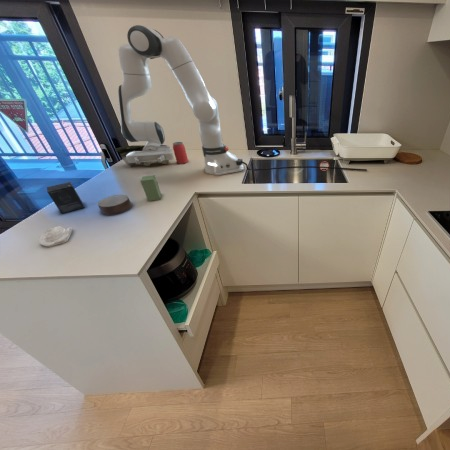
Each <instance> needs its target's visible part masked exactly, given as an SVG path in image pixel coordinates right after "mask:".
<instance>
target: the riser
mask: <svg viewBox="0 0 450 450" xmlns="http://www.w3.org/2000/svg"><path fill="white" fill-rule="evenodd" d="M97 206H98V208H99V210H100V212H101V213H102V215H105V216H115V215H119V214H122V213H126V212H128V211H129V210H130V209H131V208H132V207H133V204H132V201H131V200H130V198H129V196H128V195H127V194H113V195H110V196H107V197H104V198H102V199H101V200H99V201H98V202H97Z"/></svg>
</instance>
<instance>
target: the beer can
mask: <svg viewBox="0 0 450 450" xmlns="http://www.w3.org/2000/svg"><path fill="white" fill-rule="evenodd" d="M172 151H173V152H174V156H175V160H176V163H177V164H181V165H183V164H187V163H188V162H189V158H188V155H187V151H186V147H185V144H184V143H183V142H182V141H176V142H173V143H172Z"/></svg>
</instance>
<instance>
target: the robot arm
mask: <svg viewBox="0 0 450 450" xmlns="http://www.w3.org/2000/svg"><path fill="white" fill-rule="evenodd" d="M126 36H127V41H128V43H123V44H122V45H120V46H119V48H118V57H119V65H120V69H121V74H122V83H121V84H120V85H119V86H118V88H117V89H118V90H117V93H118V95H117V96H118V105H119V114H120V131H121V135H122V137H123V138H124V139H125V140H127V141H128V142H130V143H137V142H138V143H139V142H146V143H145V146H144V148H143V150H142V151H135V152H130V153H129V154H127V155H126V158H127V161H128V162H129V163H136V164H139V163H140V162H150V161H151V162H153V163H159V162H162V161H163V160H169V161H173V160H174V159H175V158H174V155H173V149H171V147H170V145H168V144H167V145H166V144H165V140H166V137H165V132H164V129H163V127H162V126H161V125H160V124H159V123H158V122H156V121H135V120H132V111H131V102H132V101H133V100H135V99H136V98H140V97H142V96H145V95H147V94H148V93H149V92H150V91H151V90H152V87H153V86H152V77H151V73H150V68H149V61H150V60H154V59H157V58H162V59H163V60H164V61H165V62H166V64H167V66H168V67H169V70H171V72H172V74H173V76H174V77H175V79H176V81H177V83H178V84H179V86H180V88H181V90H182V91H183V94H184V96H185V98H186V100H187V103H188V104H189V107H190V108H191V110H192V113H193V115H194V117H195V118H196V119H197V120H198V130H199V137H200V140H201V151H202V155H203V157H204V172H205V173H206V174H211V175H215V176H223V175H228V174H233V173H239V172H244V169H245V168H246V169H247V170H248V171H254V172H255V171H268V170H281V169H282V170H283V169H333V170H348V171H368V169H367V168H353V167H337V166H319V165H302V166H301V165H300V166H299V165H298V166H297V165H296V166H278V167H264V168H255V169H251V168H249V165H248V163H246V162H245V161H244V160H243V158H238V156H237V155H236V154H235V153H232V152H230V151H229V147H228V146H227V144H224V141H223V136H222V130H221V120H220V113H219V105H218V102H217V100H216V99H215V98H214V97H213V96H212V95H211V94H210V93H209V91H208V87H207V86H206V84H205V82H204V78H203V77H202V75H201V73H200V71H199V69H198V68H197V66H196V63H195V62H194V60H193V58H192V56H191V55H190V52H189V51H188V50H187V48H186V47H185V46H184V43H182V41H181V40H180V39H179V38H178V37H176V36H167V37H164V36H163V35H162V34H161V32H159V31H158V30H156V29H154V28H152V27H149V26H147V25H140V24H137V25H136V24H135V25H133V26H131V27H129V29H128V31H127V35H126ZM157 161H158V162H157ZM244 165H245V167H244Z"/></svg>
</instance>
